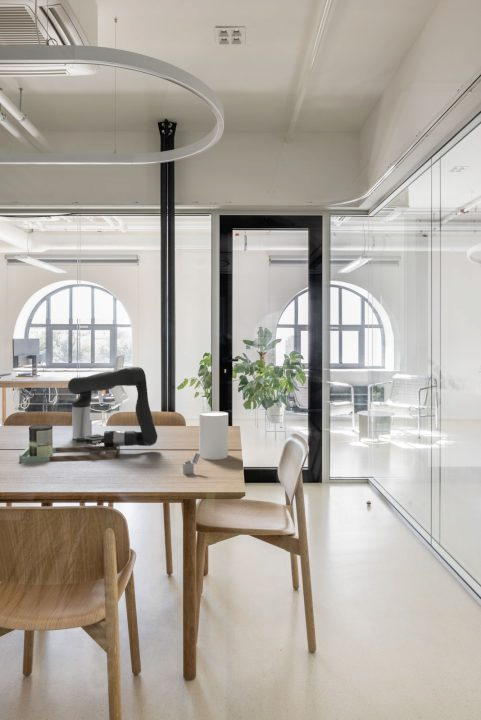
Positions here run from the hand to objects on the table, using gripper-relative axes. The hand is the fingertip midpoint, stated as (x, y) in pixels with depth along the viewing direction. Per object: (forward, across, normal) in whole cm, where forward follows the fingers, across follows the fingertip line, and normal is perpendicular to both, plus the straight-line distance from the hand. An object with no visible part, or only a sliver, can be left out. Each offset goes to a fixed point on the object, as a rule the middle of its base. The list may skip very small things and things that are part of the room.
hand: (76, 440), depth 235 cm
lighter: (-50, +39, +7) cm, 64 cm away
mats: (-12, 0, +7) cm, 14 cm away
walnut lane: (+2, 0, +7) cm, 7 cm away
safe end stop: (+17, 0, +7) cm, 18 cm away
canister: (-63, +12, +7) cm, 64 cm away
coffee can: (+16, 0, +7) cm, 17 cm away
